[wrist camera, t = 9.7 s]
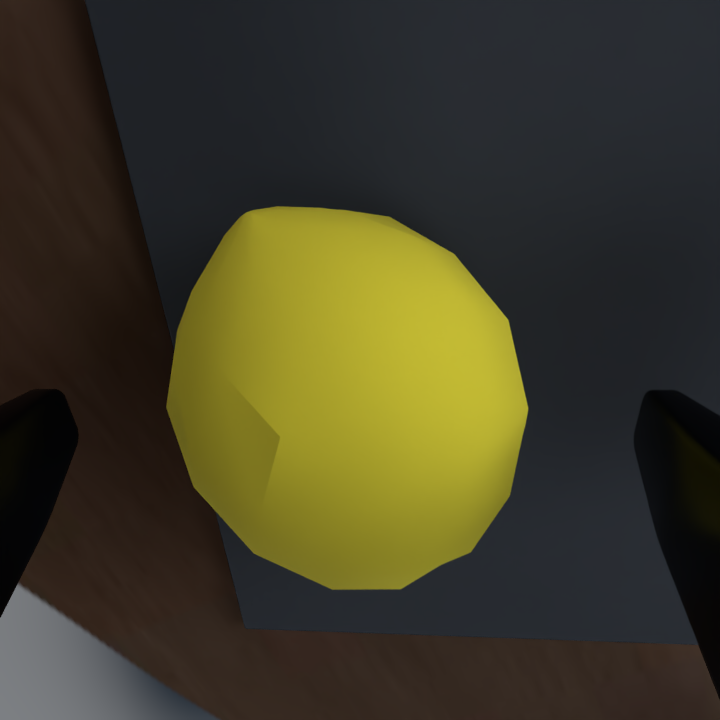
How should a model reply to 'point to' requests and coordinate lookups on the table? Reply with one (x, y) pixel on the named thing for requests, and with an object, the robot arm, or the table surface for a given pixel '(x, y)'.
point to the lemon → (346, 396)
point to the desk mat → (467, 247)
